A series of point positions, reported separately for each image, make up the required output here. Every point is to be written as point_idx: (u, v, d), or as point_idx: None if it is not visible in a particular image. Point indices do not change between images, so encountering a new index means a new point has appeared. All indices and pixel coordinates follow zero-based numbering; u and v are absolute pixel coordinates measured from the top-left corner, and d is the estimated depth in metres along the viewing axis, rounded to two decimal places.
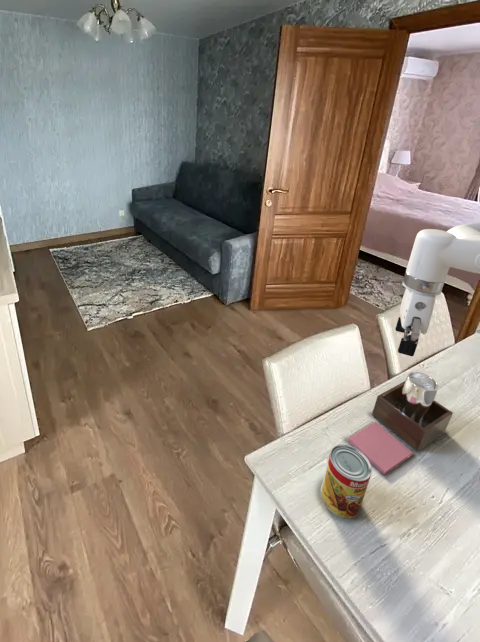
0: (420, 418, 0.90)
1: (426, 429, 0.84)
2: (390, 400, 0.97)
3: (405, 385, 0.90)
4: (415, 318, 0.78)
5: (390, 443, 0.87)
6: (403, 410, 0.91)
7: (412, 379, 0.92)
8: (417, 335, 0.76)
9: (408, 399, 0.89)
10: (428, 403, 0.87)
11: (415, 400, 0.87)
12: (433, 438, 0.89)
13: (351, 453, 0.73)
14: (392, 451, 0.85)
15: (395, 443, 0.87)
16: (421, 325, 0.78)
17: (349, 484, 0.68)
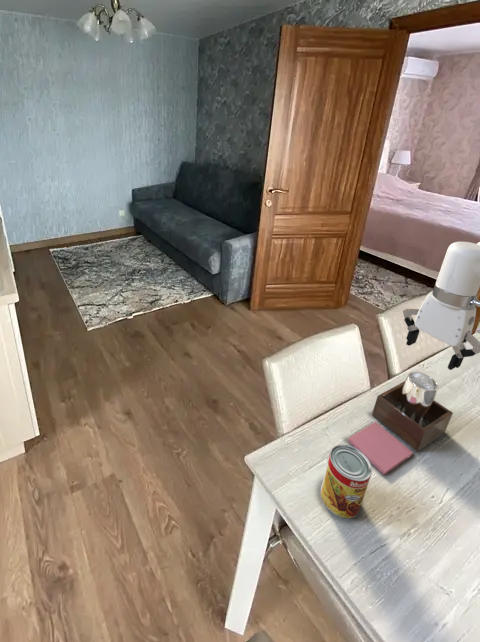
0: (420, 418, 0.90)
1: (426, 429, 0.84)
2: (390, 400, 0.97)
3: (405, 385, 0.90)
4: (467, 333, 0.77)
5: (390, 443, 0.87)
6: (403, 410, 0.91)
7: (412, 379, 0.92)
8: None
9: (408, 399, 0.89)
10: (428, 403, 0.87)
11: (415, 400, 0.87)
12: (433, 438, 0.89)
13: (351, 453, 0.73)
14: (392, 451, 0.85)
15: (395, 443, 0.87)
16: None
17: (349, 484, 0.68)
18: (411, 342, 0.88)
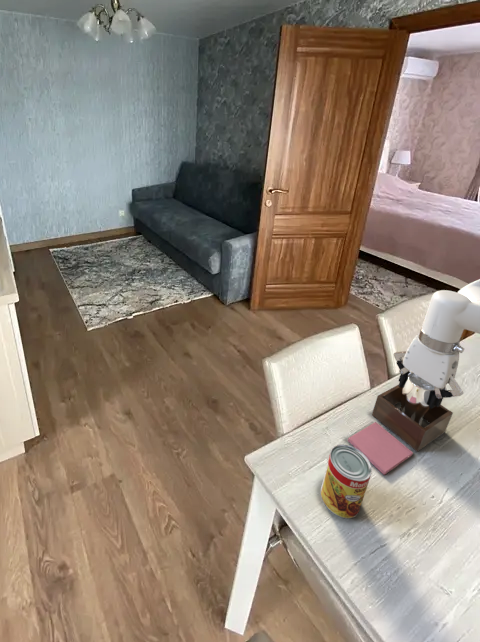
0: (420, 418, 0.90)
1: (426, 429, 0.84)
2: (390, 400, 0.97)
3: (405, 385, 0.90)
4: (450, 377, 0.82)
5: (390, 443, 0.87)
6: (403, 410, 0.91)
7: (412, 379, 0.92)
8: None
9: (408, 399, 0.89)
10: (428, 403, 0.87)
11: (415, 400, 0.87)
12: (433, 438, 0.89)
13: (351, 453, 0.73)
14: (392, 451, 0.85)
15: (395, 443, 0.87)
16: None
17: (349, 484, 0.68)
18: (403, 384, 0.92)
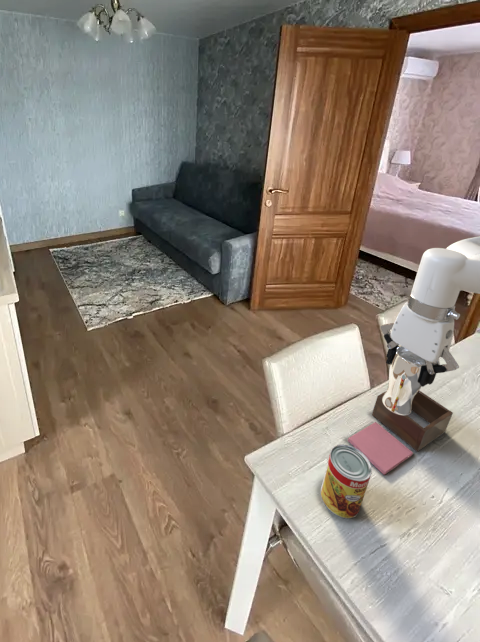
0: (411, 399, 0.79)
1: (426, 429, 0.84)
2: None
3: (393, 361, 0.79)
4: (444, 348, 0.71)
5: (390, 443, 0.87)
6: (391, 390, 0.80)
7: (401, 355, 0.81)
8: (457, 368, 0.70)
9: (396, 376, 0.78)
10: (419, 380, 0.75)
11: (404, 377, 0.76)
12: (433, 438, 0.89)
13: (351, 453, 0.73)
14: (392, 451, 0.85)
15: (395, 443, 0.87)
16: None
17: (349, 484, 0.68)
18: (391, 361, 0.81)
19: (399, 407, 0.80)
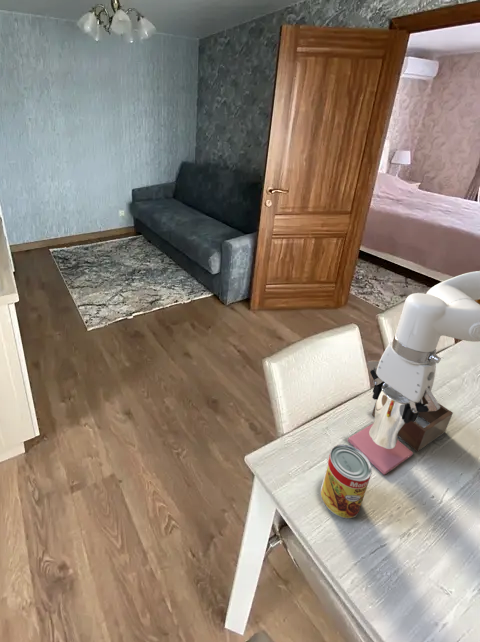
0: (396, 434, 0.82)
1: (426, 429, 0.84)
2: None
3: (379, 397, 0.82)
4: (426, 389, 0.74)
5: None
6: (377, 424, 0.83)
7: (387, 390, 0.84)
8: (438, 408, 0.73)
9: (382, 413, 0.81)
10: (403, 417, 0.78)
11: (389, 414, 0.79)
12: (433, 438, 0.89)
13: (351, 453, 0.73)
14: (392, 451, 0.85)
15: None
16: None
17: (349, 484, 0.68)
18: (377, 396, 0.84)
19: (385, 441, 0.83)
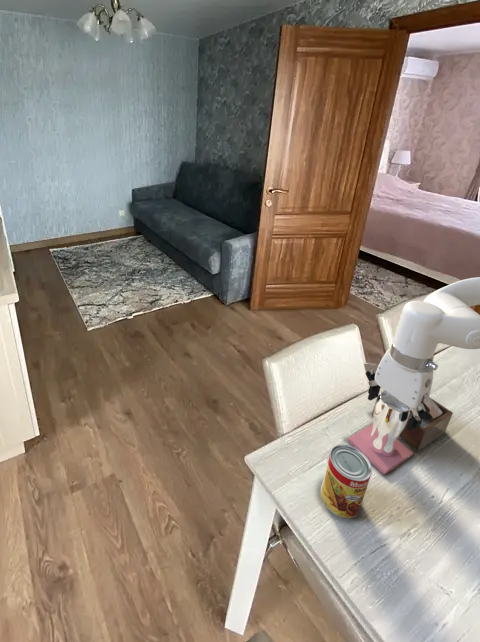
0: (394, 441, 0.82)
1: (426, 429, 0.84)
2: None
3: (377, 405, 0.83)
4: (424, 395, 0.74)
5: None
6: (375, 431, 0.84)
7: (385, 398, 0.85)
8: (440, 414, 0.72)
9: (380, 420, 0.82)
10: (401, 425, 0.79)
11: (387, 422, 0.80)
12: (433, 438, 0.89)
13: (351, 453, 0.73)
14: None
15: None
16: None
17: (349, 484, 0.68)
18: (372, 397, 0.85)
19: (383, 448, 0.84)
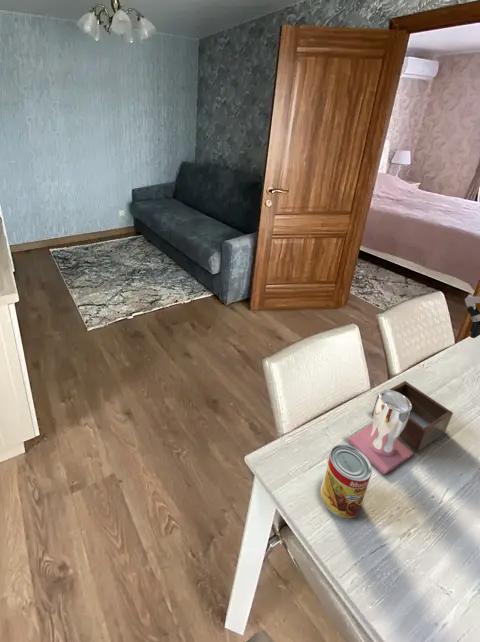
0: (394, 441, 0.82)
1: (426, 429, 0.84)
2: None
3: (377, 405, 0.83)
4: None
5: None
6: (375, 431, 0.84)
7: (385, 398, 0.85)
8: None
9: (380, 420, 0.82)
10: (401, 425, 0.79)
11: (387, 422, 0.80)
12: (433, 438, 0.89)
13: (351, 453, 0.73)
14: None
15: None
16: None
17: (349, 484, 0.68)
18: (476, 334, 0.78)
19: (383, 448, 0.84)
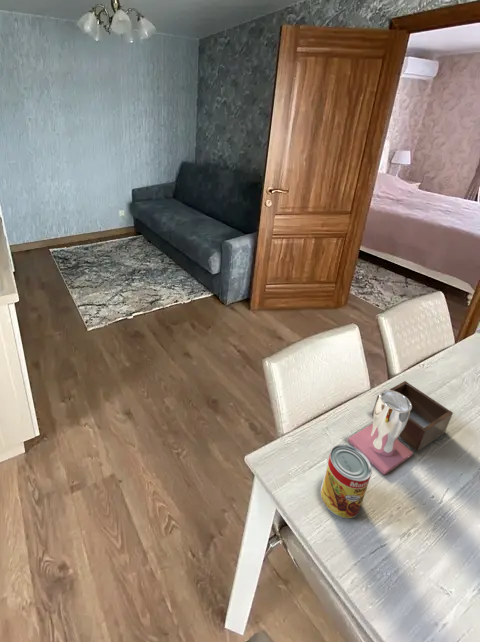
0: (394, 441, 0.82)
1: (426, 429, 0.84)
2: None
3: (377, 405, 0.83)
4: None
5: None
6: (375, 431, 0.84)
7: (385, 398, 0.85)
8: None
9: (380, 420, 0.82)
10: (401, 425, 0.79)
11: (387, 422, 0.80)
12: (433, 438, 0.89)
13: (351, 453, 0.73)
14: None
15: None
16: None
17: (349, 484, 0.68)
18: None
19: (383, 448, 0.84)
